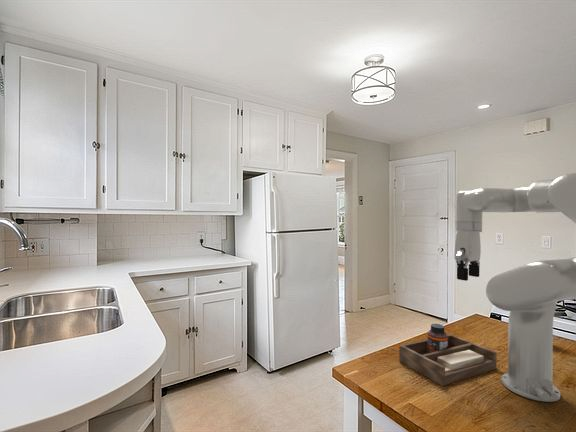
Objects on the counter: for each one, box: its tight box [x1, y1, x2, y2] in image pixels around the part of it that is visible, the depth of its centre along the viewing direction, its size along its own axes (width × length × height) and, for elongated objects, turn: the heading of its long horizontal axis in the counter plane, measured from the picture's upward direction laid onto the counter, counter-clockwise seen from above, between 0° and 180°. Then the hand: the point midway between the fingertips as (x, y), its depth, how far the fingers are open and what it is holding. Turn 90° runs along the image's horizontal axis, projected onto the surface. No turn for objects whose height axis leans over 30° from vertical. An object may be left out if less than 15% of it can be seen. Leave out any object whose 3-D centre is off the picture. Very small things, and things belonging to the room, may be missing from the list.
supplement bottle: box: [426, 323, 448, 354], centre depth 99 cm, size 6×6×11 cm
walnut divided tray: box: [398, 333, 498, 386], centre depth 96 cm, size 16×24×5 cm, turn 114°
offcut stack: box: [436, 350, 484, 373], centre depth 92 cm, size 5×18×4 cm, turn 112°
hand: (468, 278), depth 101 cm, fingers open, 9 cm apart
